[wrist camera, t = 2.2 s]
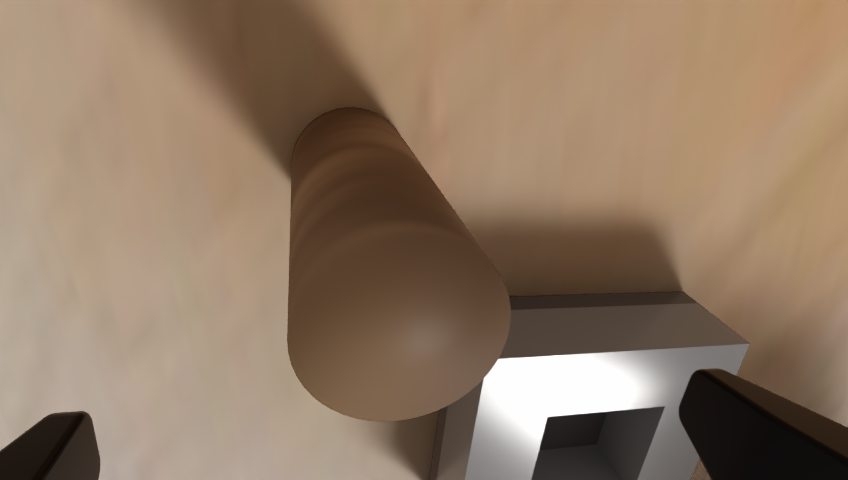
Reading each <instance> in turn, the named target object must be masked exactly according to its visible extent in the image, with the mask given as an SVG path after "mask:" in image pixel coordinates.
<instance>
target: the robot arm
mask: <svg viewBox="0 0 848 480" xmlns="http://www.w3.org/2000/svg"><path fill="white" fill-rule="evenodd" d="M678 414H679V419H680V422H681V424H682V426H683V428H684V429H685V431H686V433H687V435H688V437H689V439H690V441H691V442H692V444H693V446H694V448H695V450H696V452H697V454H698V456H699V457H700V459H701V461H702V463H703V465H704V467H705V469H706V471H707V472H708V474H709V476H710V478H711V480H848V427H845V426H843V425H841V424H839V423H837V422H835V421H833V420H830V419H828V418H826V417H824V416H822V415H820V414H817V413H815V412H813V411H811V410H809V409H807V408H805V407H802V406H800V405H798V404H796V403H794V402H792V401H790V400H787V399H785V398H783V397H781V396H779V395H777V394H774V393H772V392H770V391H768V390H766V389H764V388H762V387H759V386H757V385H755V384H753V383H751V382H749V381H747V380H744V379H742V378H740V377H738V376H736V375H734V374H731V373H729V372H727V371H725V370H722V369H718V368H711V369H699V370H696V371H695V372H694V373H693V374H692V375H691V377H690V379H689V382H688V384H687V387H686V389H685V392H684V394H683V397H682V399H681V402H680V404H679V409H678ZM99 473H100V455H99V451H98V446H97V441H96V436H95V432H94V427H93V422H92V419H91V417H90V415H89V414H88V413H87V412H84V411H77V412H62V413H54V414H50V415H48V416H46V417H45V418H43V419H42V420H40V421H39V422H38V423H37V424H35V425H34V426H33V427H31V428H30V429H29V430H27V431H26V432H25V433H23V434H22V435H21V436H19V437H18V438H17V439H15V440H14V441H13V442H11V443H10V444H9V445H8V446H6V447H5V448H4V449H2V450H1V451H0V480H98V478H99Z"/></svg>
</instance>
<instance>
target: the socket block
mask: <svg viewBox="0 0 848 480" xmlns="http://www.w3.org/2000/svg"><path fill="white" fill-rule="evenodd" d="M509 300H510V306H511V321H510V329H509V333H508V337H507V341H506V343H505V346H504V348H503V351H502V353H501V355H500V356H499V358H498V360H497V362H496V363H495V365H494V366H493V368H492V369H491V370H490V372H489V373H488V374H487V375H486V376H485V377H484V378H483V380H482V381H481V382H480V383H479V384H478V385H477V386H475V387H474V388H473V389H472V390H471V391H470V392H468V393H467V394H466V395H464V396H463V397H461V398H460V399H459V400H457V401H455V402H453V403H452V404H450V405H448V406H446V407H444V408H442V409H440V410H439V416H438V423H437V430H436V437H435V444H434V450H433V457H432V464H431V471H430V478H429V480H690V479H691V477H692V475H693V473H694V470H695V468H696V466H697V463H698V461H699V459H700V457H699V456H698V454H697V452H696V450H695V448H694V446H693V444H692V442H691V441H690V439H689V437H688V435H687V433H686V431H685V429H684V428H683V426H682V424H681V422H680V419H679V414H678V409H679V404H680V402H681V399H682V397H683V394H684V392H685V389H686V387H687V384H688V382H689V379H690V377H691V375H692V374H693V373H694V372H695V371H696V370H699V369H711V368H718V369H722V370H725V371H727V372H729V373H731V374H734V375H737V372H738V370H739V368H740V366H741V363H742V361H743V359H744V357H745V354H746V352H747V350H748V347H749V345H750V343H749V342H747V341H746V340H745V339H743V338H742V337H741V336H740V335H738V334H737V333H736V332H734V331H733V330H732V329H731V328H729V327H728V326H727V325H726V324H724V323H723V322H722V321H720V320H719V319H718V318H717V317H715V316H714V315H713V314H711V313H710V312H709V311H708V310H706V309H705V308H704V307H703V306H701V305H700V304H699V303H697V302H696V301H695V300H694V299H692V298H691V297H690V296H688V295H687V294H686V293H685V292H654V293H620V294H587V295H554V296H520V297H509Z"/></svg>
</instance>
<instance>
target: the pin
mask: <svg viewBox="0 0 848 480" xmlns="http://www.w3.org/2000/svg"><path fill="white" fill-rule="evenodd" d="M510 321H511V306H510V300H509V295H508V292H507V289H506V286H505V283H504V282H503V280H502V278H501V276H500V274H499V273H498V271H497V270H496V268H495V267H494V266H493V264H492V263H491V261H490V260H489V259H488V257H487V256H486V254H485V253H484V252H483V250H482V249H481V247H480V246H479V245H478V243H477V242H476V240H475V239H474V238H473V236H472V235H471V233H470V232H469V230H468V229H467V228H466V226H465V225H464V223H463V222H462V221H461V219H460V218H459V216H458V215H457V214H456V212H455V211H454V209H453V208H452V207H451V205H450V204H449V202H448V201H447V200H446V198H445V197H444V195H443V194H442V193H441V191H440V190H439V188H438V187H437V186H436V184H435V183H434V181H433V180H432V179H431V177H430V176H429V174H428V173H427V172H426V170H425V169H424V167H423V166H422V165H421V163H420V162H419V160H418V159H417V158H416V156H415V155H414V153H413V152H412V151H411V149H410V148H409V146H408V145H407V144H406V142H405V141H404V139H403V138H402V137H401V135H400V134H399V132H398V131H397V130H396V128H395V127H394V126H393V125H392V124H391V123H390V122H389V121H387V120H386V119H385V118H383V117H382V116H380V115H378V114H377V113H374V112H372V111H369V110H365V109H361V108H340V109H335V110H332V111H329V112H327V113H324V114H322V115H321V116H319V117H317V118H316V119H314V120H313V121H312V122H311V123H310V124H309V125H308V126H307V127H306V128H305V129H304V130H303V132H302V133H301V134H300V136H299V138H298V140H297V142H296V145H295V147H294V151H293V156H292V179H291V218H290V257H289V296H288V334H287V342H288V353H289V357H290V361H291V364H292V367H293V369H294V371H295V374H296V376H297V377H298V379H299V380H300V382H301V383H302V385H303V386H304V388H305V389H306V390H307V391H308V392H309V393H310V394H311V395H312V396H313V397H314V398H316V399H317V400H318V401H319V402H321V403H322V404H324V405H325V406H327V407H329V408H330V409H332V410H334V411H336V412H339V413H341V414H343V415H347V416H350V417H353V418H357V419H363V420H368V421H399V420H406V419H412V418H416V417H420V416H424V415H426V414H429V413H432V412H435V411H437V410H440V409H442V408H444V407H446V406H448V405H450V404H452V403H453V402H455V401H457V400H459V399H460V398H461V397H463V396H464V395H466V394H467V393H468V392H470V391H471V390H472V389H473V388H474V387H475V386H477V385H478V384H479V383H480V382H481V381H482V380H483V378H484V377H485V376H486V375H487V374H488V373H489V372H490V370H491V369H492V368H493V366H494V365H495V363H496V362H497V360H498V358H499V356H500V355H501V353H502V351H503V348H504V346H505V343H506V341H507V337H508V333H509V329H510Z"/></svg>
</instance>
